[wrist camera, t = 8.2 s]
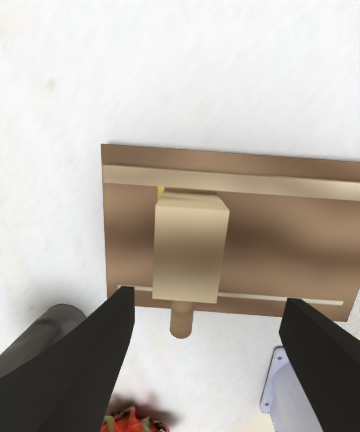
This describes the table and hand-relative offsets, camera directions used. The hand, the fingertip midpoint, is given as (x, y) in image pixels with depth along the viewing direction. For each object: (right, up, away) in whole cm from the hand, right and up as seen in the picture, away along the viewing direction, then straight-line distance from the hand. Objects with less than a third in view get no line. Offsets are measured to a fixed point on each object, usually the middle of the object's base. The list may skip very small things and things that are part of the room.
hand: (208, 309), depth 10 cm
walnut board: (+3, +3, +9) cm, 10 cm away
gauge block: (-1, +2, +8) cm, 8 cm away
